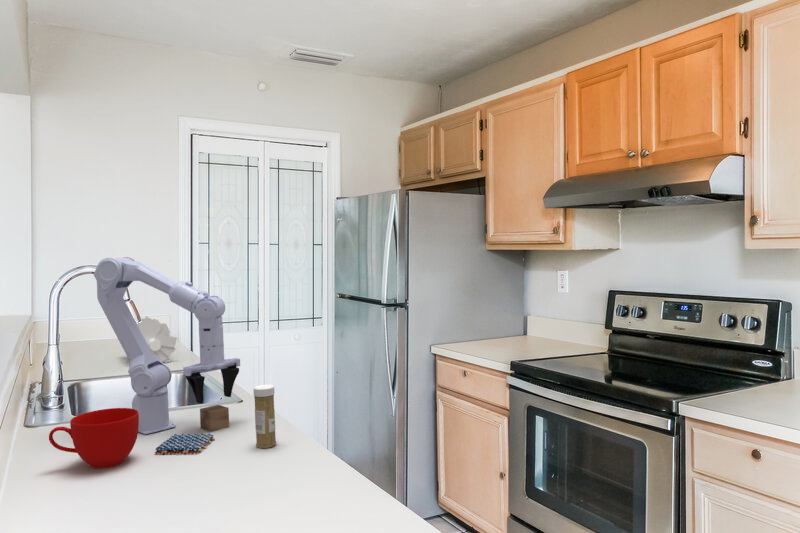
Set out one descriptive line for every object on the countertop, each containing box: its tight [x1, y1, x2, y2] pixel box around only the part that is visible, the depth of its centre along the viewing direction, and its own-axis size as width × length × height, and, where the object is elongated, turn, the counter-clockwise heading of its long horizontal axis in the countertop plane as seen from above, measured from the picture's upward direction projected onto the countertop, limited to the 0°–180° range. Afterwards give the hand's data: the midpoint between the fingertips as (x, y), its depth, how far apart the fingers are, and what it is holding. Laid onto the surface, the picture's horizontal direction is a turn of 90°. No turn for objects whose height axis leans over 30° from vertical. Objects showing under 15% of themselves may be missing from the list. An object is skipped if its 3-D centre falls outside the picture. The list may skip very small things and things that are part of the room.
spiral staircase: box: [137, 316, 178, 362], centre depth 245 cm, size 18×18×25 cm
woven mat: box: [154, 433, 216, 456], centre depth 135 cm, size 10×11×2 cm
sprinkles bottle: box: [253, 384, 277, 449], centre depth 134 cm, size 5×5×14 cm
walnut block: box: [199, 404, 230, 433], centre depth 150 cm, size 5×5×5 cm
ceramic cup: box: [48, 407, 139, 469], centre depth 126 cm, size 13×17×10 cm
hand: (214, 399), depth 149 cm, fingers open, 7 cm apart
